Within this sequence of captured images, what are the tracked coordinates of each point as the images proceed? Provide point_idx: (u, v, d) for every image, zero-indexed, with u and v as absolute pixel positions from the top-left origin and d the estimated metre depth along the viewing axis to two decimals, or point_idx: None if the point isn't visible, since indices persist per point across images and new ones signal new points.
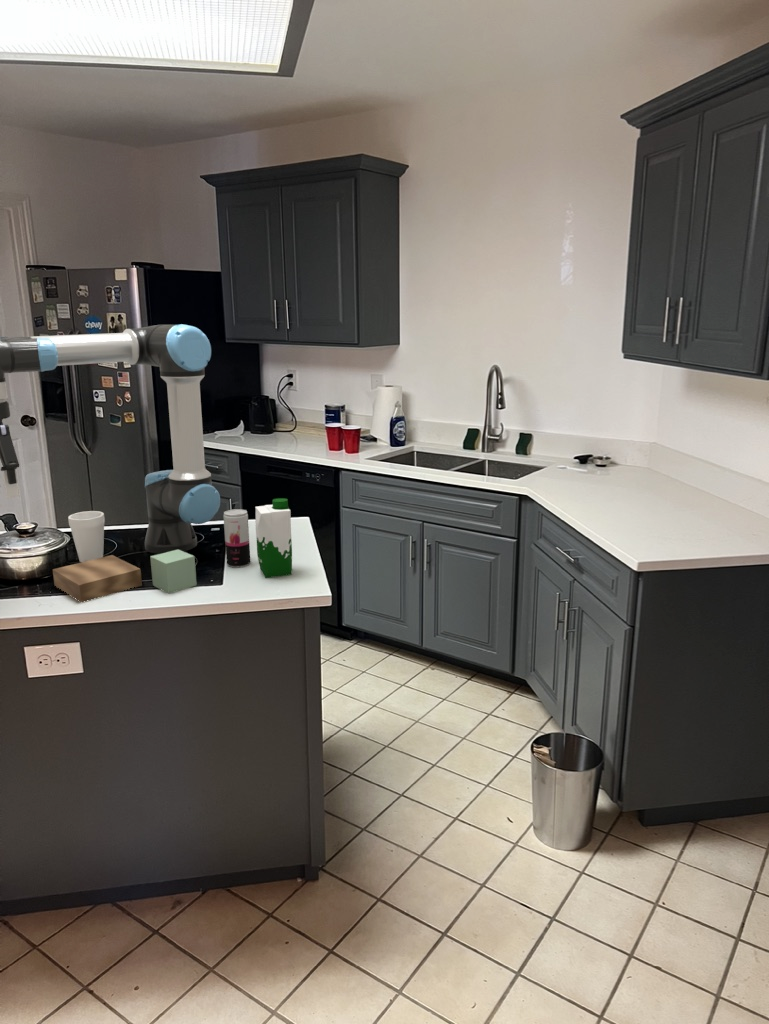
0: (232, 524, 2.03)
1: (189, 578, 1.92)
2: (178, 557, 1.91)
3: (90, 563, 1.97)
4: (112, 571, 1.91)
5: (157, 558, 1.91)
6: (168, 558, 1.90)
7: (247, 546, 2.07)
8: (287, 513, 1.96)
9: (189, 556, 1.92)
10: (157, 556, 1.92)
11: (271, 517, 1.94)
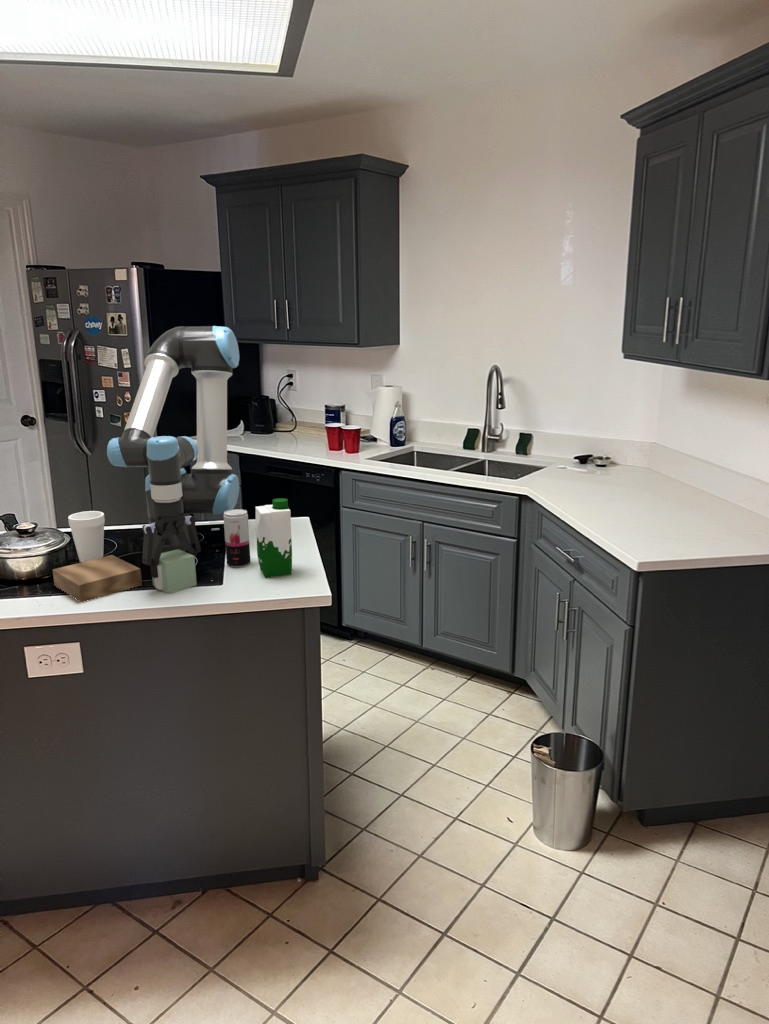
0: (232, 524, 2.03)
1: (189, 578, 1.92)
2: (178, 557, 1.91)
3: (90, 563, 1.97)
4: (112, 571, 1.91)
5: None
6: (168, 558, 1.90)
7: (247, 546, 2.07)
8: (287, 513, 1.96)
9: (189, 556, 1.92)
10: None
11: (271, 517, 1.94)
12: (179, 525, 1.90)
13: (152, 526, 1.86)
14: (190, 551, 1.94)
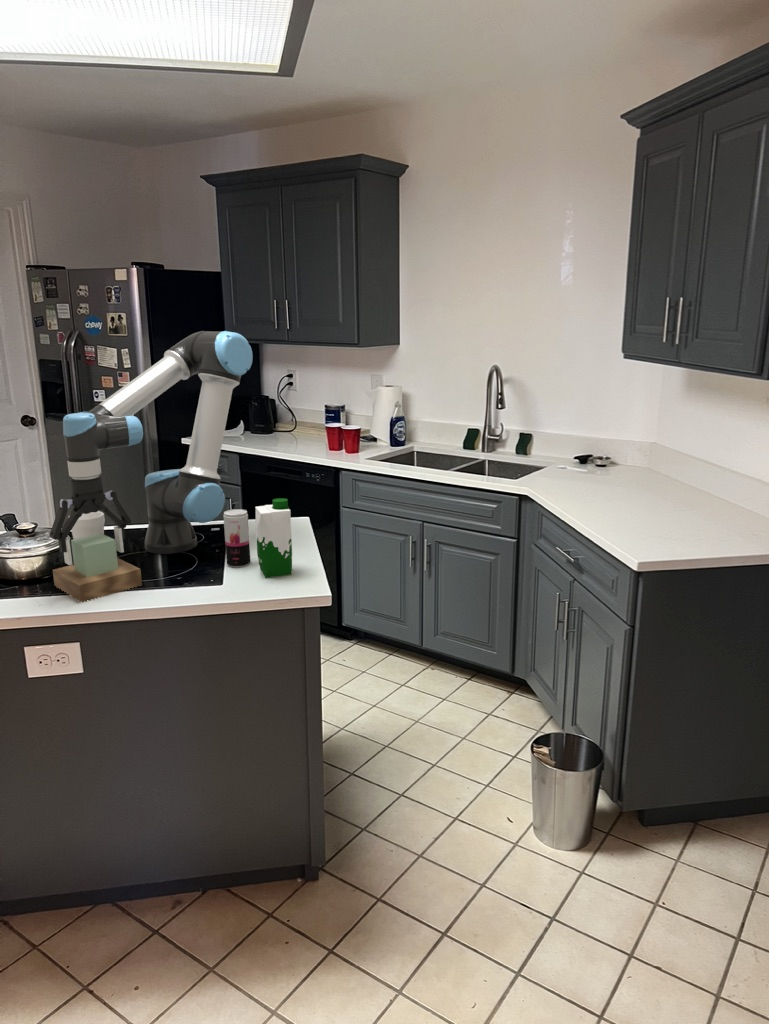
0: (232, 524, 2.03)
1: (110, 562, 1.91)
2: (98, 541, 1.89)
3: None
4: (112, 572, 1.91)
5: (77, 541, 1.89)
6: (87, 542, 1.89)
7: (247, 546, 2.07)
8: (287, 513, 1.96)
9: (110, 540, 1.90)
10: (78, 540, 1.91)
11: (271, 517, 1.94)
12: (99, 502, 1.88)
13: (69, 501, 1.84)
14: (119, 523, 1.94)
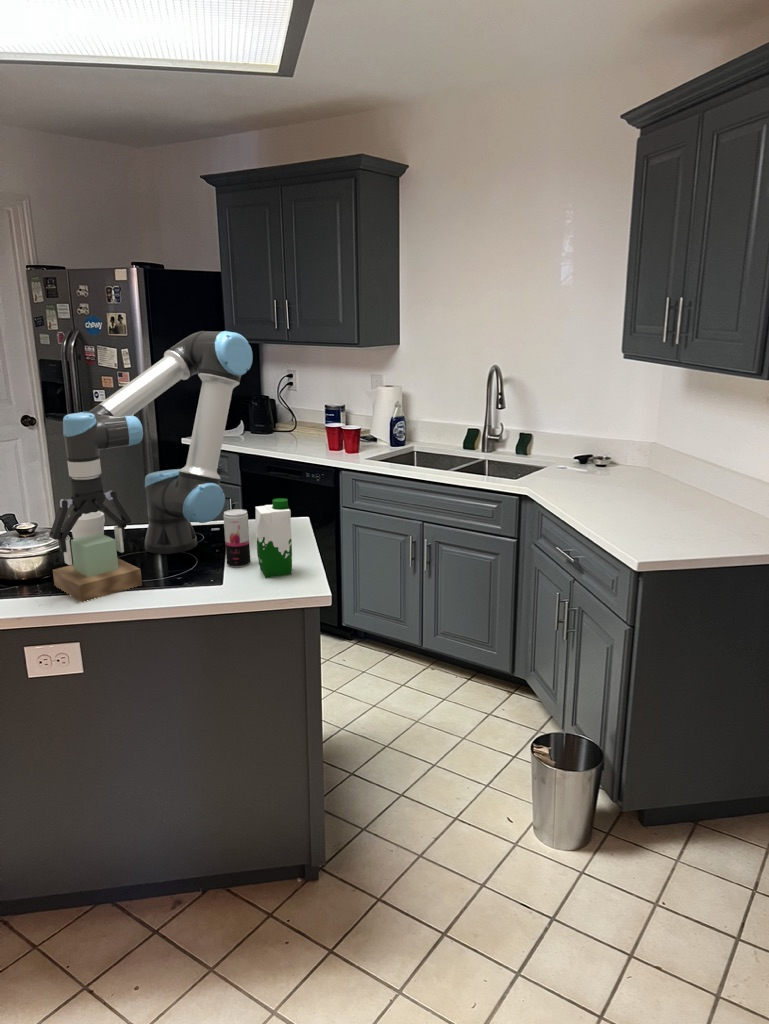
0: (232, 524, 2.03)
1: (110, 562, 1.91)
2: (99, 541, 1.89)
3: None
4: (113, 572, 1.91)
5: (77, 541, 1.89)
6: (88, 542, 1.89)
7: (247, 546, 2.07)
8: (287, 513, 1.96)
9: (110, 539, 1.90)
10: (77, 540, 1.91)
11: (271, 517, 1.94)
12: (99, 502, 1.88)
13: (69, 501, 1.84)
14: (119, 523, 1.94)
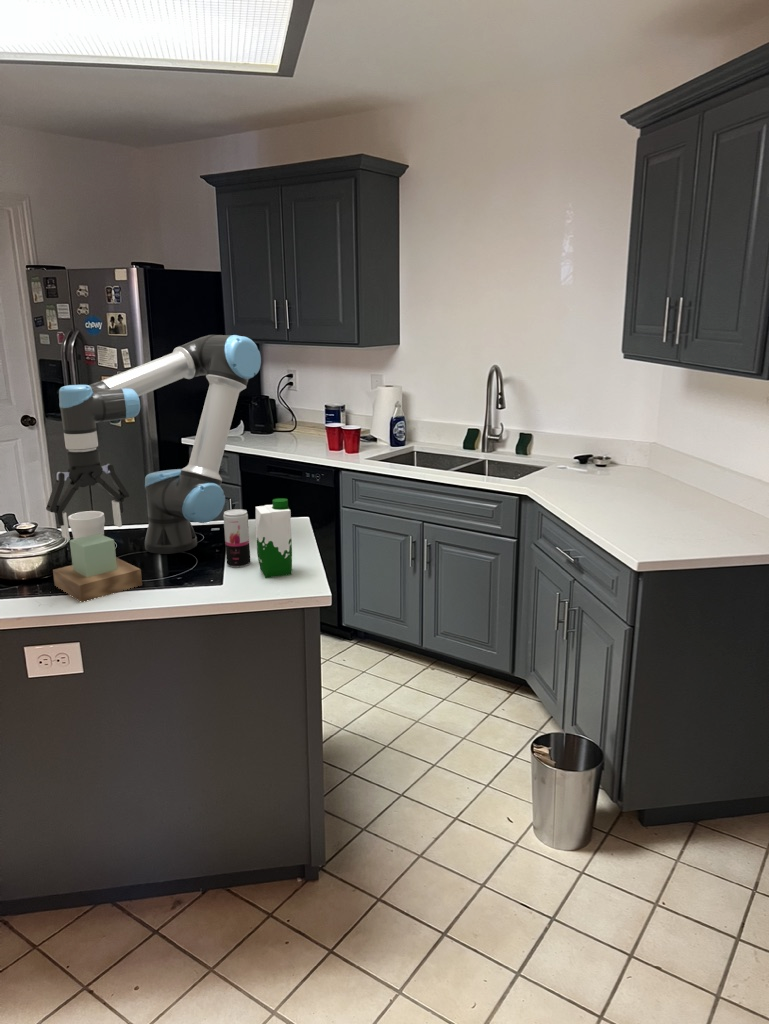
0: (232, 524, 2.03)
1: (109, 562, 1.91)
2: (97, 541, 1.90)
3: None
4: (113, 572, 1.91)
5: (76, 541, 1.89)
6: (87, 542, 1.89)
7: (247, 546, 2.07)
8: (287, 513, 1.96)
9: (109, 540, 1.91)
10: (76, 540, 1.91)
11: (271, 517, 1.94)
12: (96, 475, 1.86)
13: (66, 474, 1.82)
14: (116, 497, 1.92)
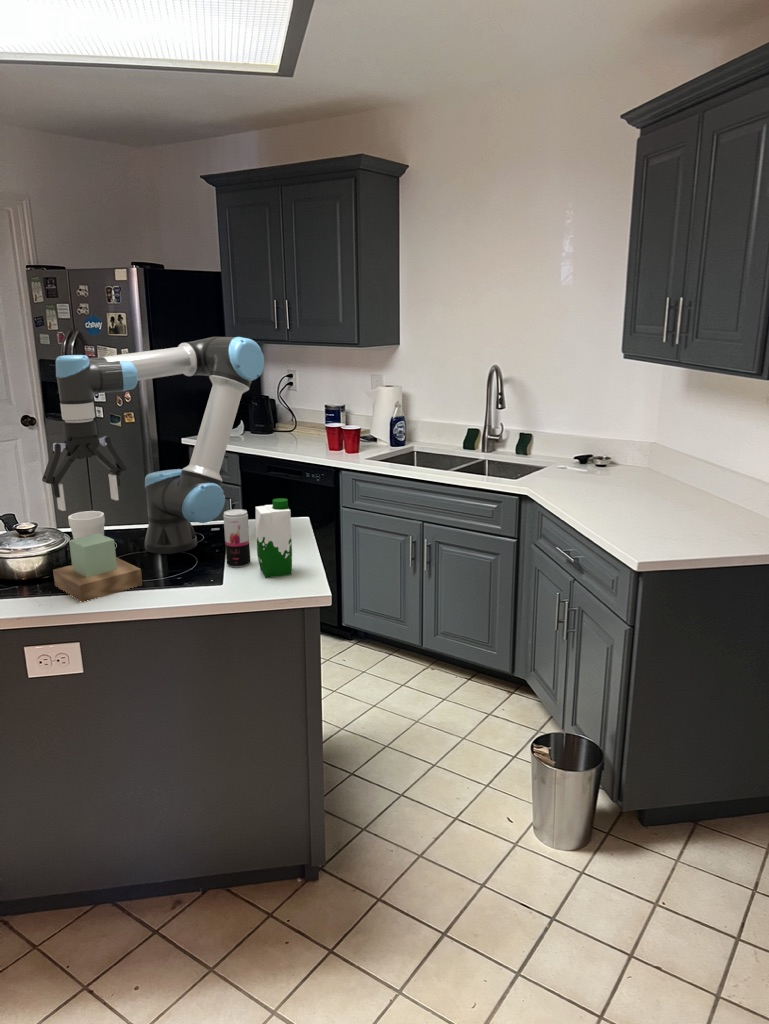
0: (232, 524, 2.03)
1: (109, 562, 1.91)
2: (97, 541, 1.90)
3: None
4: (113, 572, 1.91)
5: (76, 541, 1.89)
6: (87, 542, 1.89)
7: (247, 546, 2.07)
8: (287, 513, 1.96)
9: (109, 539, 1.91)
10: (76, 540, 1.90)
11: (271, 517, 1.94)
12: (92, 447, 1.84)
13: (62, 445, 1.81)
14: (113, 470, 1.90)
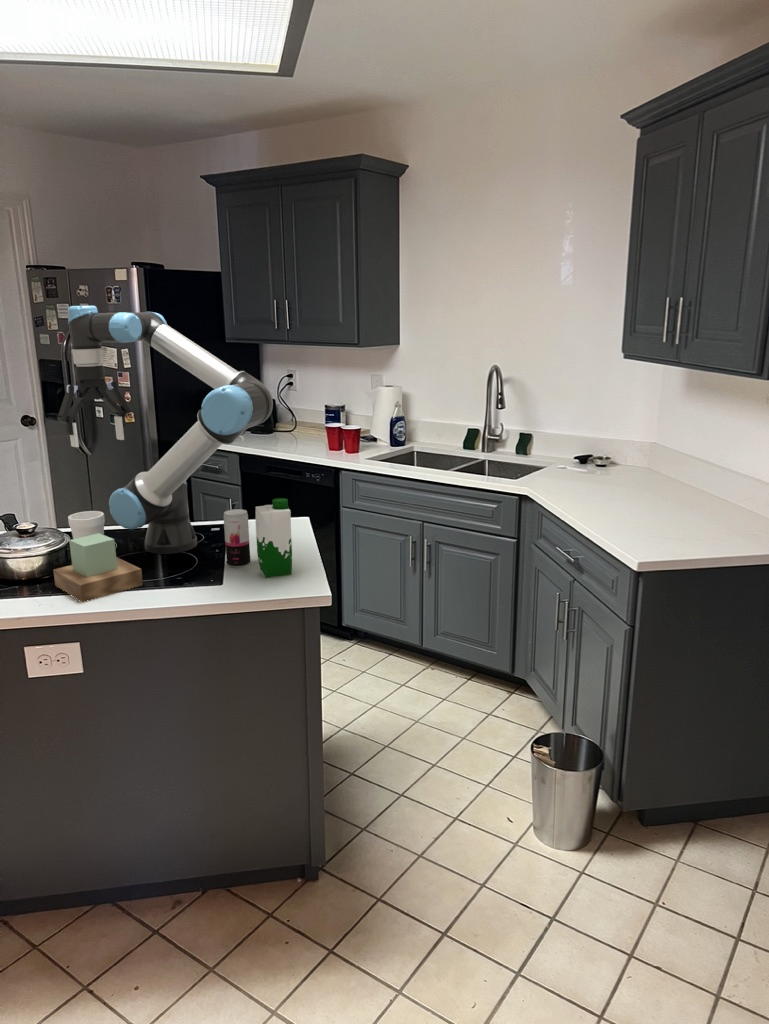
0: (232, 524, 2.03)
1: (109, 561, 1.91)
2: (98, 540, 1.90)
3: None
4: (113, 571, 1.91)
5: (76, 541, 1.89)
6: (87, 541, 1.89)
7: (247, 546, 2.07)
8: (287, 513, 1.96)
9: (109, 539, 1.91)
10: (76, 540, 1.91)
11: (271, 517, 1.94)
12: (101, 390, 2.04)
13: (75, 387, 2.00)
14: (119, 412, 2.10)
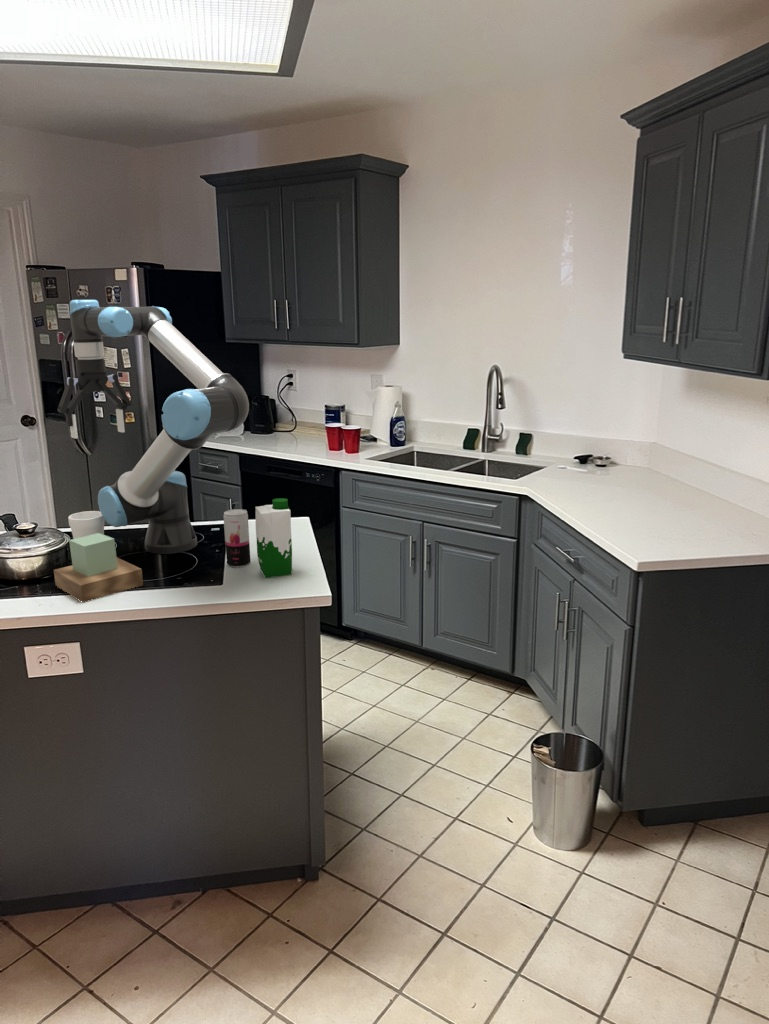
0: (232, 524, 2.03)
1: (109, 561, 1.91)
2: (98, 540, 1.90)
3: None
4: (114, 572, 1.91)
5: (76, 541, 1.90)
6: (87, 541, 1.89)
7: (247, 546, 2.07)
8: (287, 513, 1.96)
9: (109, 539, 1.91)
10: (76, 539, 1.91)
11: (271, 517, 1.94)
12: (102, 382, 2.08)
13: (75, 379, 2.04)
14: (120, 405, 2.13)
